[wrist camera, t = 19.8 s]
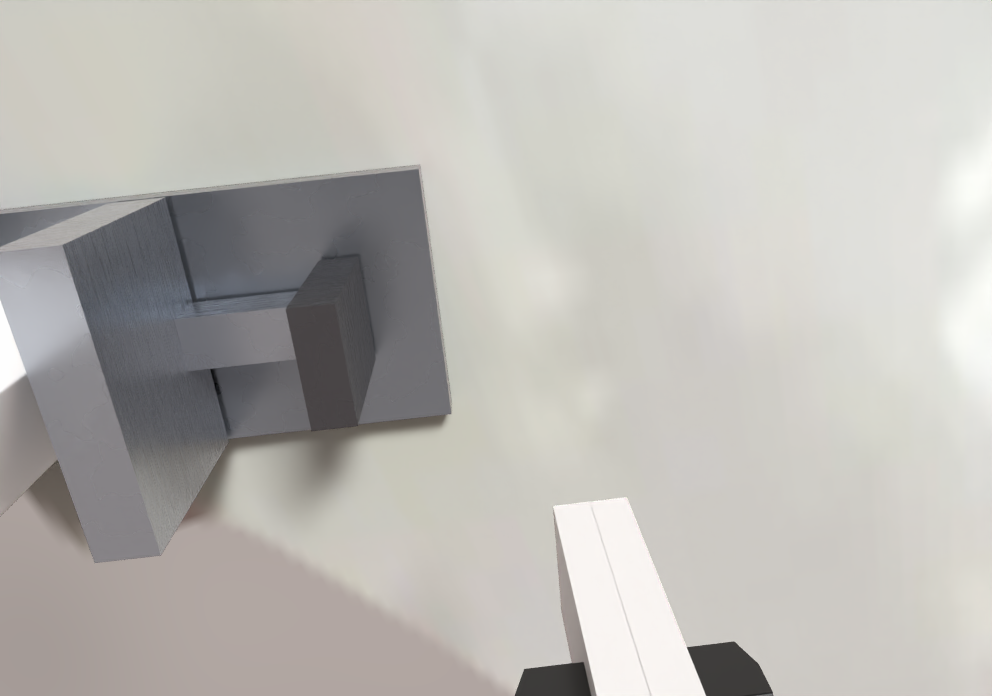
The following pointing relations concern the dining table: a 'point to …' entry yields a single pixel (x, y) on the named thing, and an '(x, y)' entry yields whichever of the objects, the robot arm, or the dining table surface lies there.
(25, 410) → the milk
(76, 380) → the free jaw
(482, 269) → the dining table surface
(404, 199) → the vise base
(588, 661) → the robot arm
